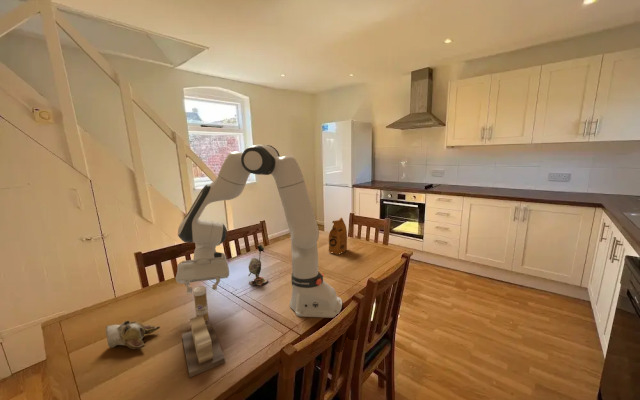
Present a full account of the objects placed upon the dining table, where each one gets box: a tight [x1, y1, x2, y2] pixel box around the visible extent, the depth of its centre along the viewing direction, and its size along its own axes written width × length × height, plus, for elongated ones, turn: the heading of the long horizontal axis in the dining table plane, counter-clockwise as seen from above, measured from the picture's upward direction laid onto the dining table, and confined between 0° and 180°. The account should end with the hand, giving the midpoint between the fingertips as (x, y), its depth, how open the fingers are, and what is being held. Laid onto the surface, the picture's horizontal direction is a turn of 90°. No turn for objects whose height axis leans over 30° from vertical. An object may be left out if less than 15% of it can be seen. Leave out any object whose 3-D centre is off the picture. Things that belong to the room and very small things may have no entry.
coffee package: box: [328, 217, 348, 255], centre depth 168 cm, size 10×12×22 cm
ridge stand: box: [181, 315, 226, 378], centre depth 84 cm, size 20×10×8 cm, turn 34°
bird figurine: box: [248, 244, 269, 286], centre depth 128 cm, size 8×11×20 cm
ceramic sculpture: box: [105, 320, 161, 350], centre depth 88 cm, size 11×9×15 cm
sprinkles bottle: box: [192, 285, 210, 323], centre depth 99 cm, size 5×5×13 cm
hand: (202, 291), depth 102 cm, fingers open, 8 cm apart
